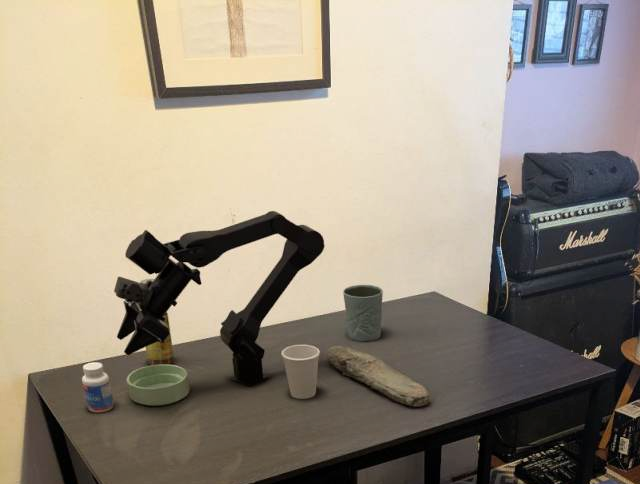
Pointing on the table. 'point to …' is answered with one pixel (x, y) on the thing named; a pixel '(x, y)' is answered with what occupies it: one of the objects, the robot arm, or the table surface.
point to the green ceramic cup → (363, 312)
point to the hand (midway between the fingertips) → (122, 345)
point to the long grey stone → (377, 375)
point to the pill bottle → (97, 388)
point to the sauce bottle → (160, 345)
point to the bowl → (158, 384)
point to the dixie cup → (301, 370)
